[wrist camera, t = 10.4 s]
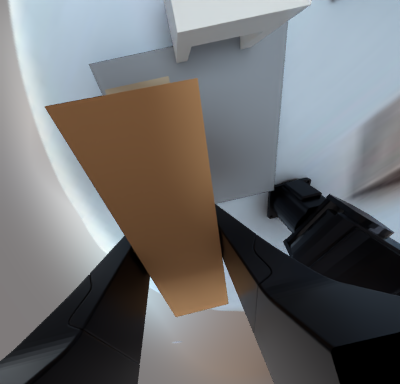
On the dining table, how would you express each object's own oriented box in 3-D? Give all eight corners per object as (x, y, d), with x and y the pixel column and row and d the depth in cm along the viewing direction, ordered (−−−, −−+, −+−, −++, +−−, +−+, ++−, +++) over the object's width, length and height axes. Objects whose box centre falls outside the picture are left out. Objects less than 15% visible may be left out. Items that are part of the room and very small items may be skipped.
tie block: (251, 47, 14) (311, 4, 8) (176, 63, 14) (177, 32, 8) (250, -22, 12) (332, -154, 6) (162, -3, 12) (148, -119, 6)
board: (270, 187, 24) (273, 190, 23) (157, 213, 24) (157, 217, 23) (281, 26, 14) (287, 21, 14) (93, 66, 14) (88, 64, 13)
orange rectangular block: (215, 256, 13) (228, 303, 10) (175, 266, 13) (175, 316, 10) (186, 87, 6) (197, 77, 4) (103, 103, 6) (44, 106, 3)
